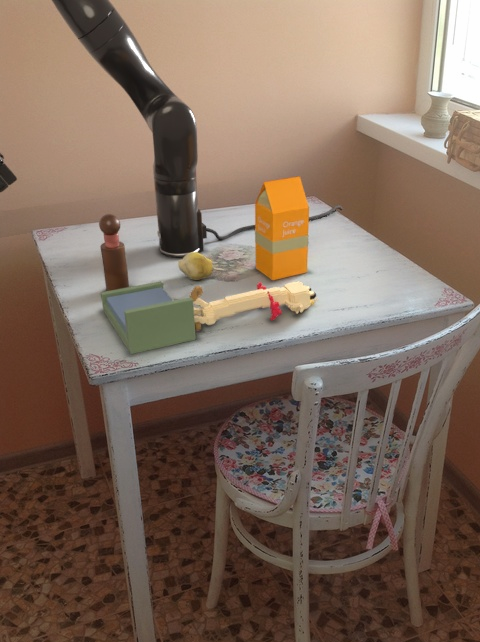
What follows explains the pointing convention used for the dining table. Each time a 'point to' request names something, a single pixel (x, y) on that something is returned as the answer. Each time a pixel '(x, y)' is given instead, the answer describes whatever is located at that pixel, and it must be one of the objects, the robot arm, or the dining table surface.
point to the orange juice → (281, 228)
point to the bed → (149, 317)
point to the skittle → (113, 254)
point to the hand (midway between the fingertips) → (9, 186)
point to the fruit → (196, 266)
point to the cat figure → (253, 302)
